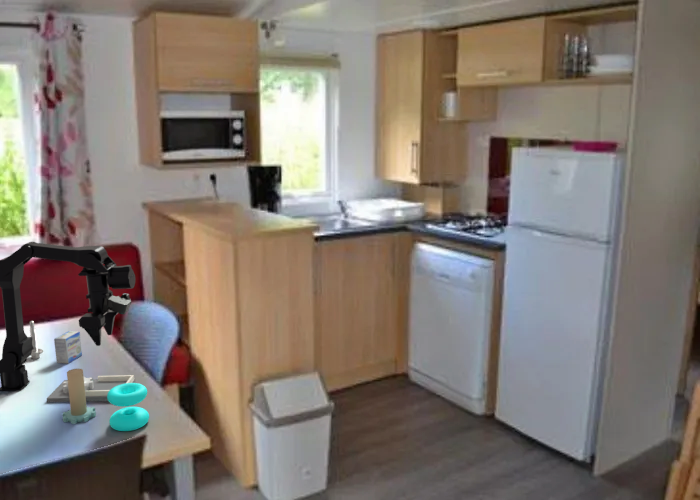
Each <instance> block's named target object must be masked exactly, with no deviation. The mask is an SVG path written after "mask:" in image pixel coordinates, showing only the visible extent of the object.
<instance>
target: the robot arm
mask: <svg viewBox="0 0 700 500" xmlns="http://www.w3.org/2000/svg"><path fill="white" fill-rule="evenodd" d="M33 258H34V259H35V258H36V259H44V260H52V261H53V260H54V261H60V262H61V261H62V262H70V263H72V264H75V265H77V266H79V267H82V270H81V271H80V272H79V273H78V276H79V277H83V276H84V277H86V278H85V279H86V285H87V294H86V295H85V298H86V299H87V300H88V301H89V307H88V308H87V313H85V314H83V315H82V316H81V317H80V318H79V319H78V326H79V328H81V329H84V331H85V332H86V333H87V335H88V336H89V337H90V338H91V340H92V341H93V343H94V344H95V346H96V347H100V346H102V345H101V344H102V329H103V328H104V331H105V333H106V334H107V335H108V336H111V335H112V334H113V329H114V323H115V318H116V316H117V315H118V314H119V315H125V314H127V313H128V312H129V309H130V305H132V300H131V298H130V294H129V293H122V294H121V296H120V295H117V296H116V295H114V293H113V291H112V290H111V289H113V290H123V289H125V290H126V289H129V290H130V289H134V288H135V286H136V285H135V284H136V275H135V272H134V269H132V265H131V264H127V265H126V264H125V265H117V263H115V261H114V260H113V259H112V258H111V257H110V256H109V255H108V251H107V249H105V247H104V246H101V245H86V246H85V245H84V246H77V247H76V246H68V245H57V244H50V243H43V242H42V243H40V242H35V241H29V242H27V243H25V244H22V245H21V247H20V248H18V249H17V250H16V251H14V252H13V253H11V254H10V255H8V256H6V257H4V258H1V259H0V289H1V296H2V304H3V306H2V307H3V314H4V315H3V317H4V324H5V325H4V327H5V333H6V334H5V339H4V341H3V342H4V343H3V345H2V354H1V359H0V392H1V391H5V392H6V391H7V392H8V391H9V392H10V391H21V390H23V389H24V388H25V387H26V386H27V385H29V383H30V382H31V381H30V379H29V377H28V376H29V375H28V374H29V373H28V370H27V369H26V365H25V364H26V362H27V361H28V358H30V356H31V353H32V350H33V349H34V347H33V345H32V340H33V338H32V337H31V336H27V334H26V333H25V329H24V328H25V327H24V317H23V307H22V297H21V288H20V287H21V283H22V280H23V277H24V270H25V269H24V268H25V265H26V264H27V263H29V262H30V260H31V259H33ZM109 288H111V289H109Z"/></svg>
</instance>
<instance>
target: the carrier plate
mask: <svg viewBox="0 0 700 500" xmlns="http://www.w3.org/2000/svg"><path fill="white" fill-rule="evenodd" d="M125 383H136V378H135V375H134V374H132V375H131V374H129V375H125V374H123V375H98V376H97V379H94V378H93V377H86V376H85V375H84V385H85V396H86V402H109V401H108V399H107V394H108V392H109V391H110V390H111V389H112V388H113V387H115V386H118V385H121V384H125ZM46 403H70V399H69V389H68V379H64V380H63V381H62V382H61V383H60V384H59V385H58V386H57V387H56V388H55V389H54V390H53V391H52V392H51V393H50V394H49V395H48V396H47V397H46Z"/></svg>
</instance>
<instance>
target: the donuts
mask: <svg viewBox="0 0 700 500" xmlns="http://www.w3.org/2000/svg"><path fill="white" fill-rule="evenodd" d="M147 395H148V388H147V387H146V386H145V385H143V384H142V383H137V382H135V383H125V384H121V385H118V386H115V387H113V388H112V389H111V390H110V391H109V392H108V394H107V399H108V401H107V402H109V403H110V405H113V406H115V407H122V408H120V409H118V410H116V411H115V412H113V413H112V414H111V416H110V417H109V426H110V427H111V428H112V429H113V430H116V431H119V432H130V431H131V432H132V431H135V430H138V429H140V428H142V427H144V426H145V425H146V424H148V422H149V421H150V413H149V411H147V409H146V408H143V407H140V406H135V405H138V404H140V403H141V402H143V401H144V400H145V399H146V397H147Z"/></svg>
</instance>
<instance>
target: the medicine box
mask: <svg viewBox="0 0 700 500" xmlns="http://www.w3.org/2000/svg"><path fill="white" fill-rule="evenodd" d="M53 342H54V350H55V360H56V363H57V364H67V365H69V364H70V363H72V362H74V361H75V360H77V359H78V358H81V356H82V355H83V350H82V341H81V333H80V331H77V330H76V331H75V330H68V331H66V332H65V333H62V334H61V335H58V336H57V337H55V338H54V339H53Z"/></svg>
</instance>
